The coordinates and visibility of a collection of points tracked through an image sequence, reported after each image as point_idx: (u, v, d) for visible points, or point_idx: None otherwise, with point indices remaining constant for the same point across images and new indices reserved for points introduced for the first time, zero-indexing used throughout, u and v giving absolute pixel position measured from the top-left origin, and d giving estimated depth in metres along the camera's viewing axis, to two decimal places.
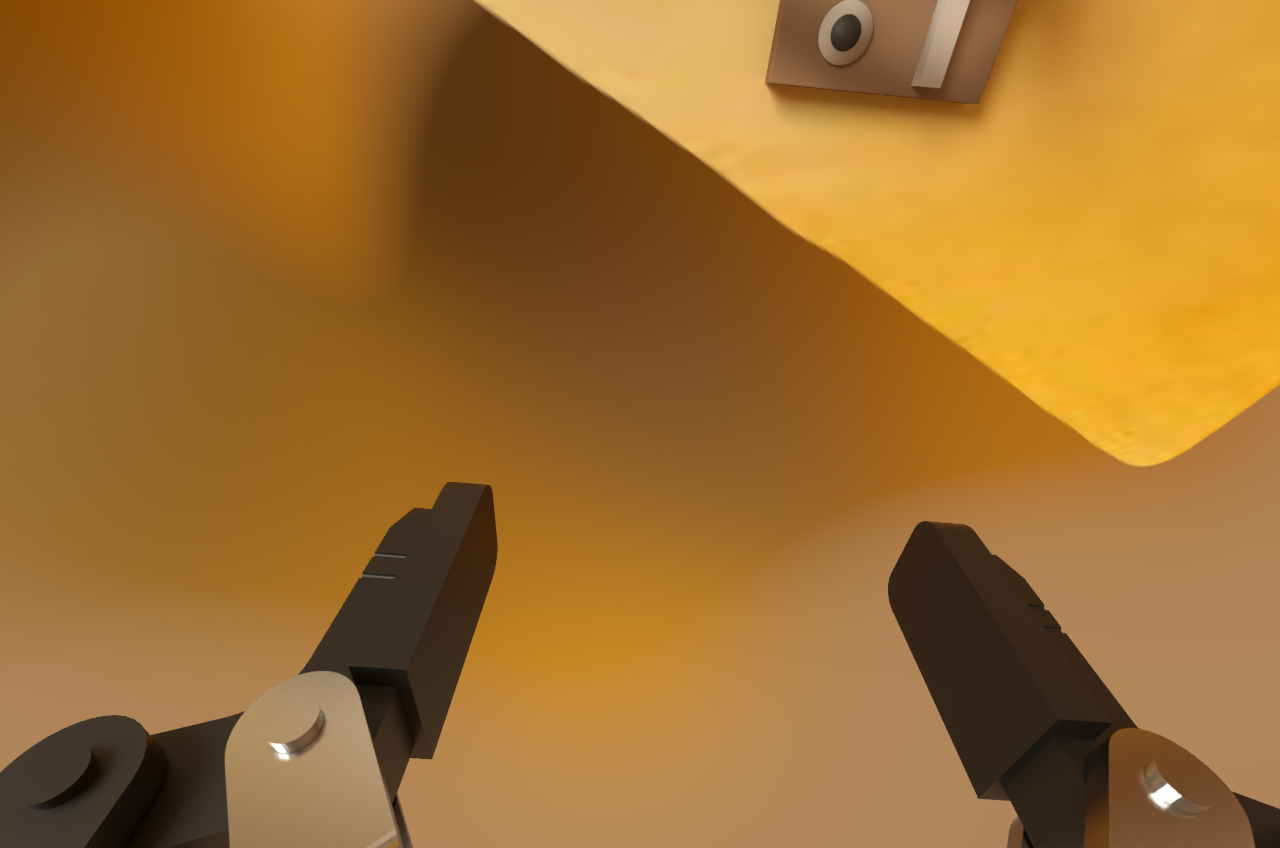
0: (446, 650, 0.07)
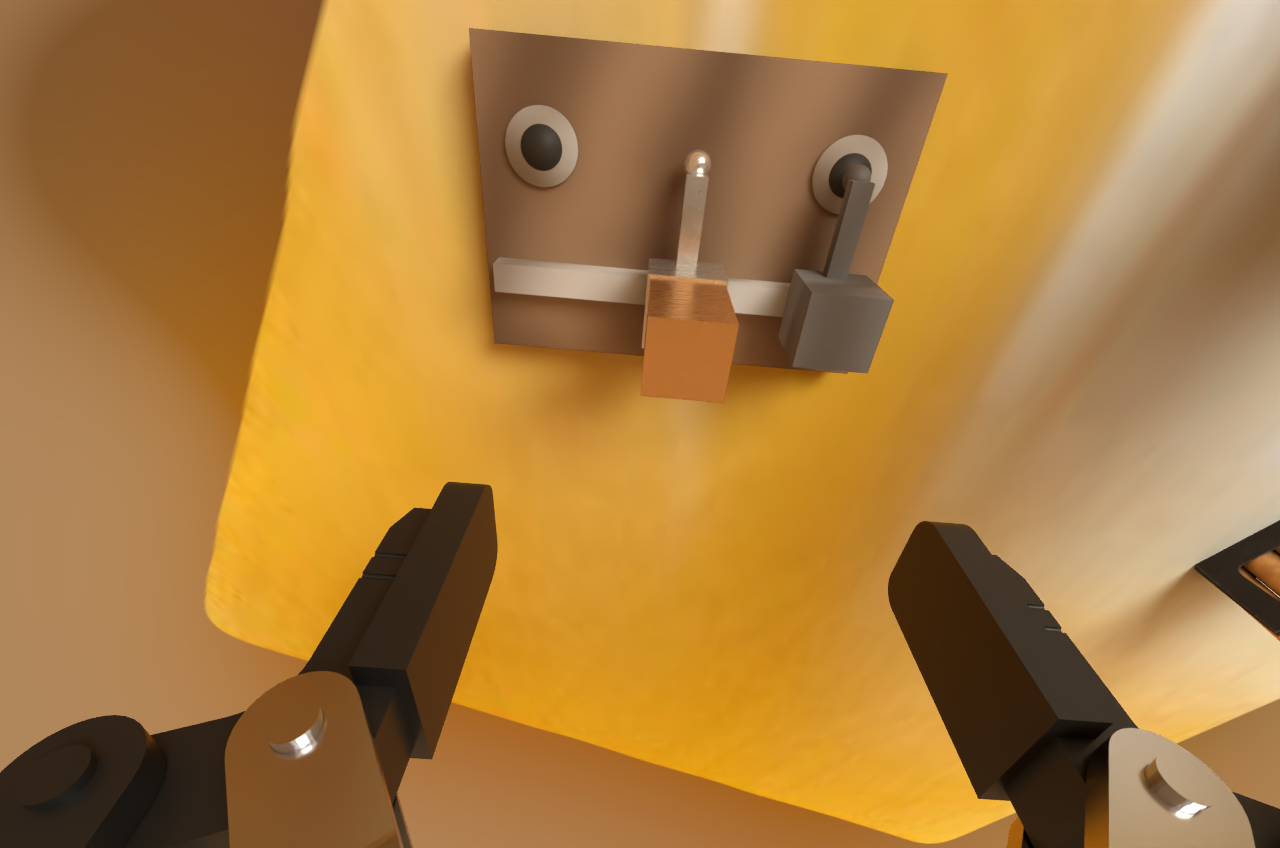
0: (446, 650, 0.07)
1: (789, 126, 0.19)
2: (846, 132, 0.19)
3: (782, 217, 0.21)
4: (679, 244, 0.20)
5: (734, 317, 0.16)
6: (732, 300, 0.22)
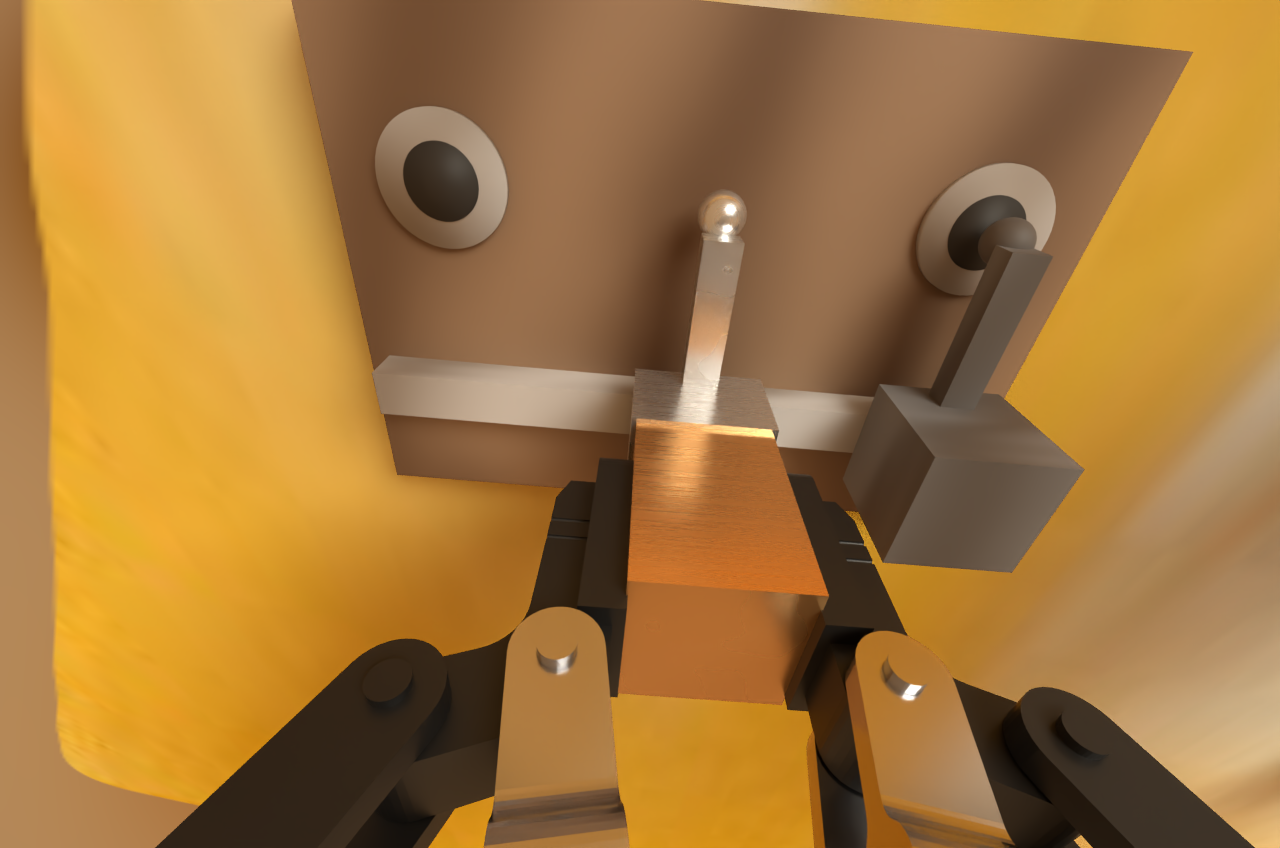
0: None
1: (886, 147, 0.11)
2: (988, 158, 0.11)
3: (860, 298, 0.12)
4: (688, 353, 0.11)
5: (813, 563, 0.08)
6: None
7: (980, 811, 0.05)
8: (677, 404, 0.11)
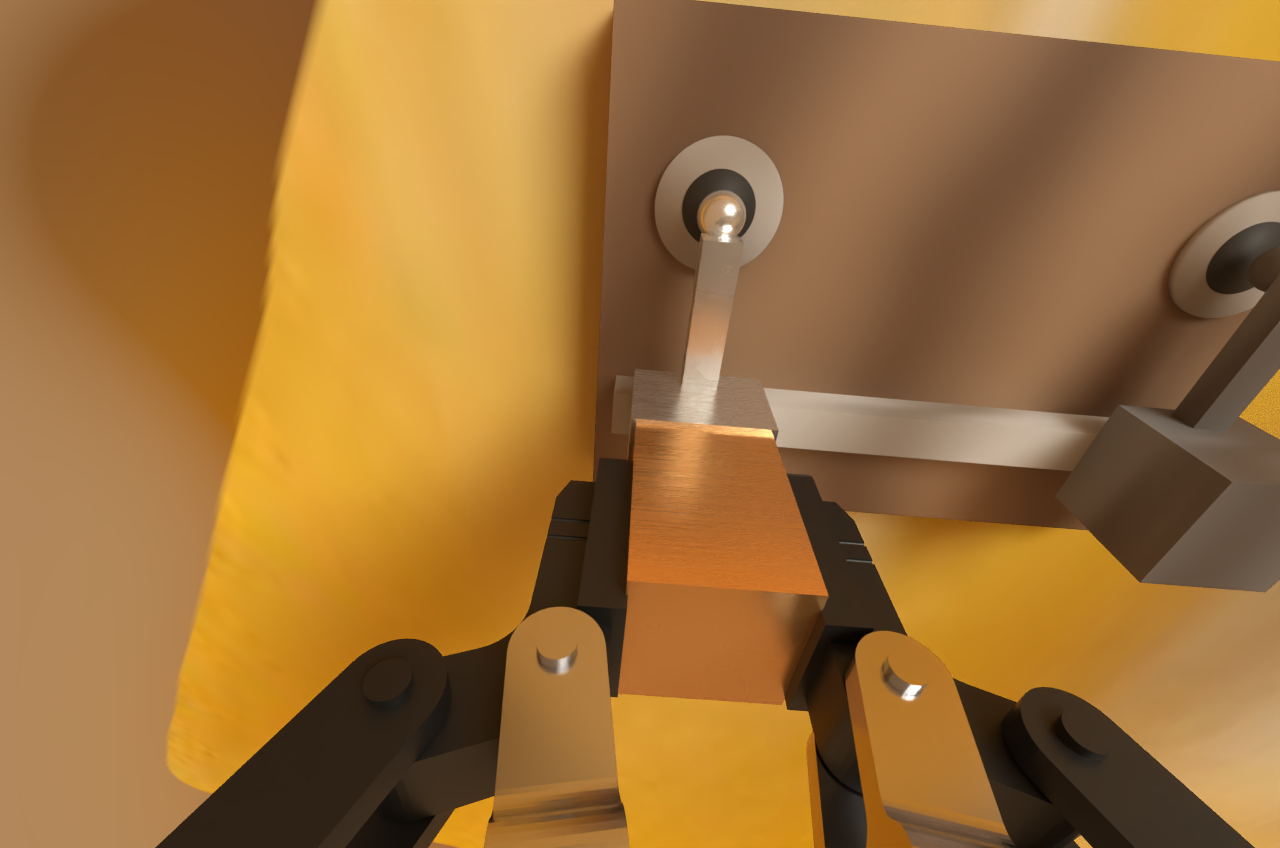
0: None
1: (1166, 175, 0.11)
2: (1266, 186, 0.11)
3: (1102, 320, 0.13)
4: (687, 353, 0.11)
5: (813, 563, 0.08)
6: (998, 448, 0.14)
7: (980, 811, 0.05)
8: (677, 404, 0.11)
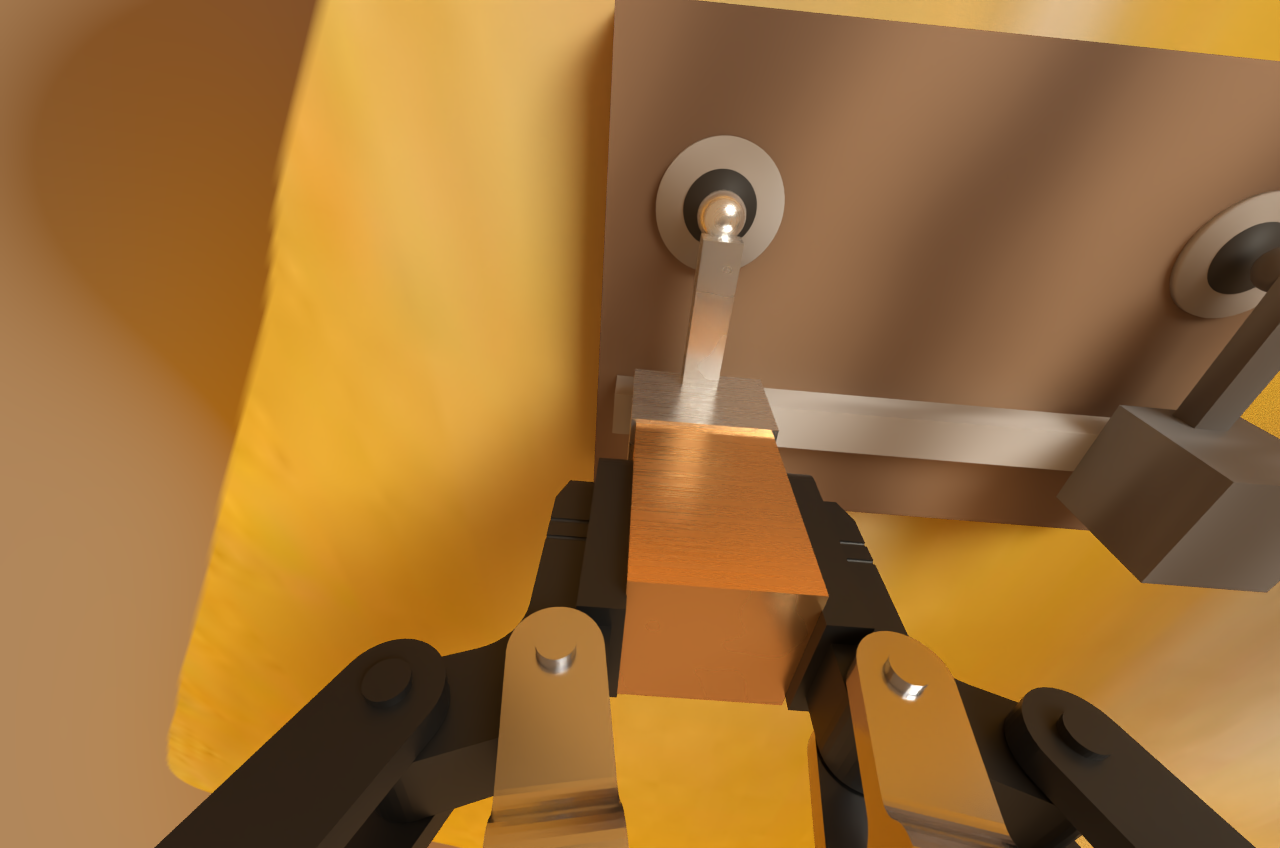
0: None
1: (1168, 175, 0.11)
2: (1268, 186, 0.11)
3: (1103, 320, 0.13)
4: (687, 353, 0.11)
5: (813, 564, 0.08)
6: (999, 448, 0.14)
7: (981, 811, 0.05)
8: (677, 404, 0.11)
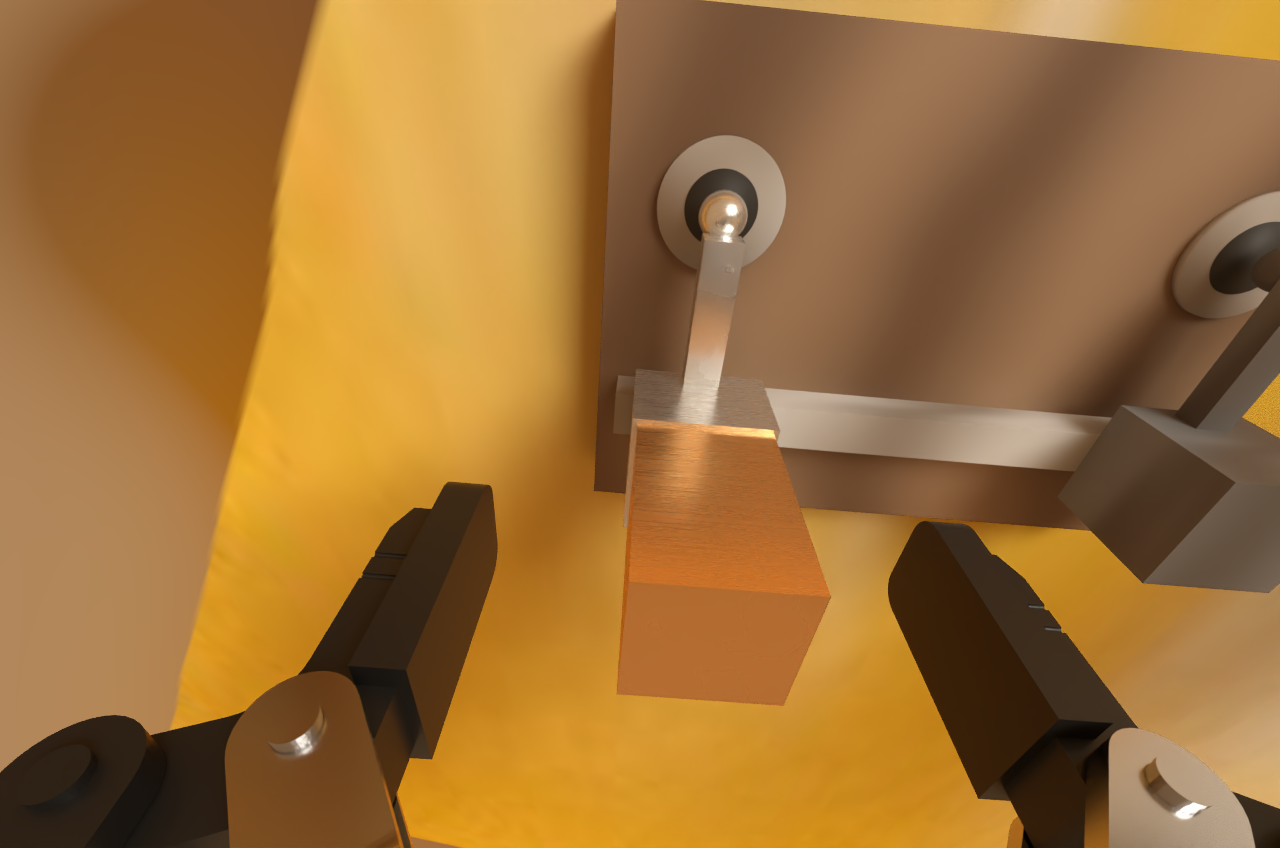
0: (446, 650, 0.07)
1: (1170, 175, 0.11)
2: (1270, 186, 0.11)
3: (1104, 320, 0.13)
4: (689, 353, 0.11)
5: (815, 564, 0.08)
6: (1001, 448, 0.14)
7: None
8: (678, 404, 0.11)
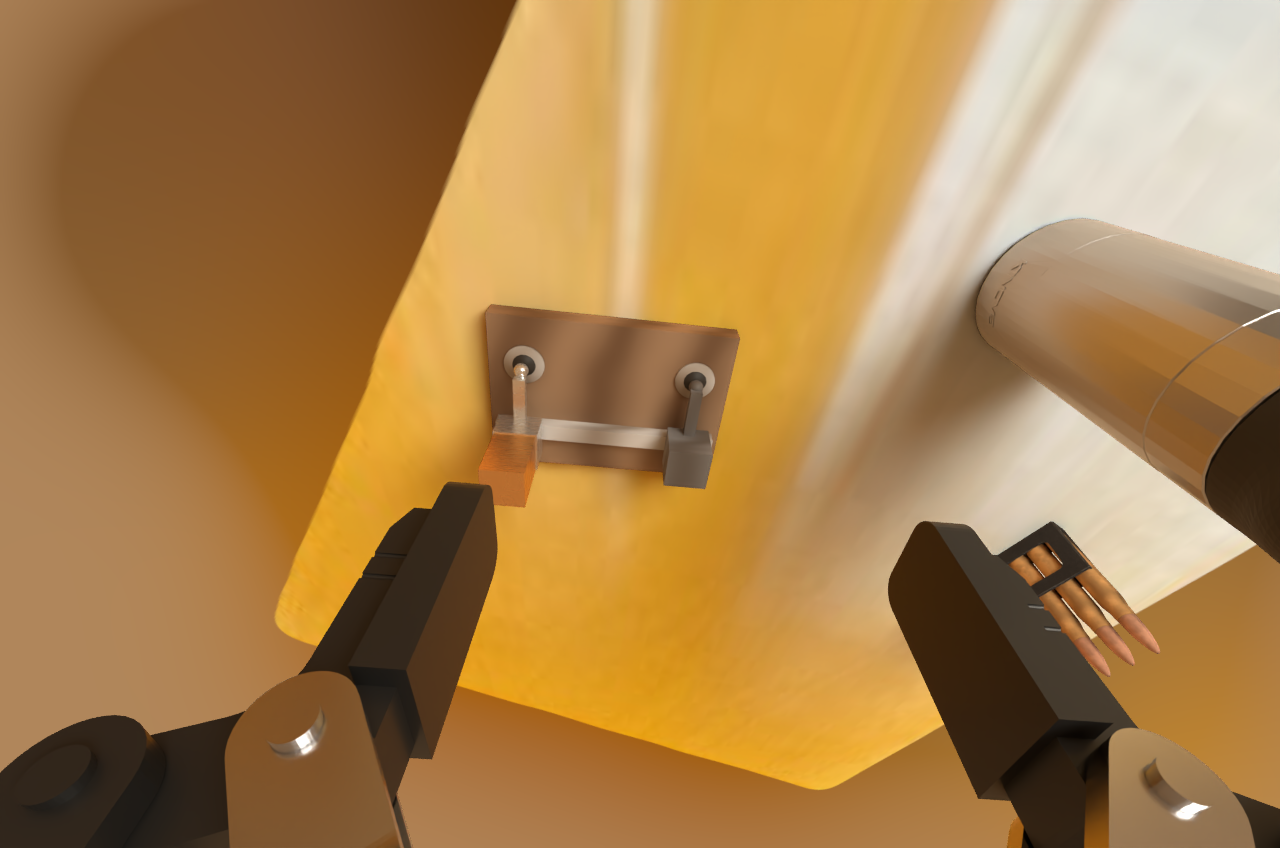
0: (446, 650, 0.07)
1: (660, 358, 0.35)
2: (690, 361, 0.36)
3: (660, 398, 0.37)
4: (514, 410, 0.36)
5: (524, 467, 0.32)
6: (634, 441, 0.38)
7: None
8: (508, 427, 0.35)
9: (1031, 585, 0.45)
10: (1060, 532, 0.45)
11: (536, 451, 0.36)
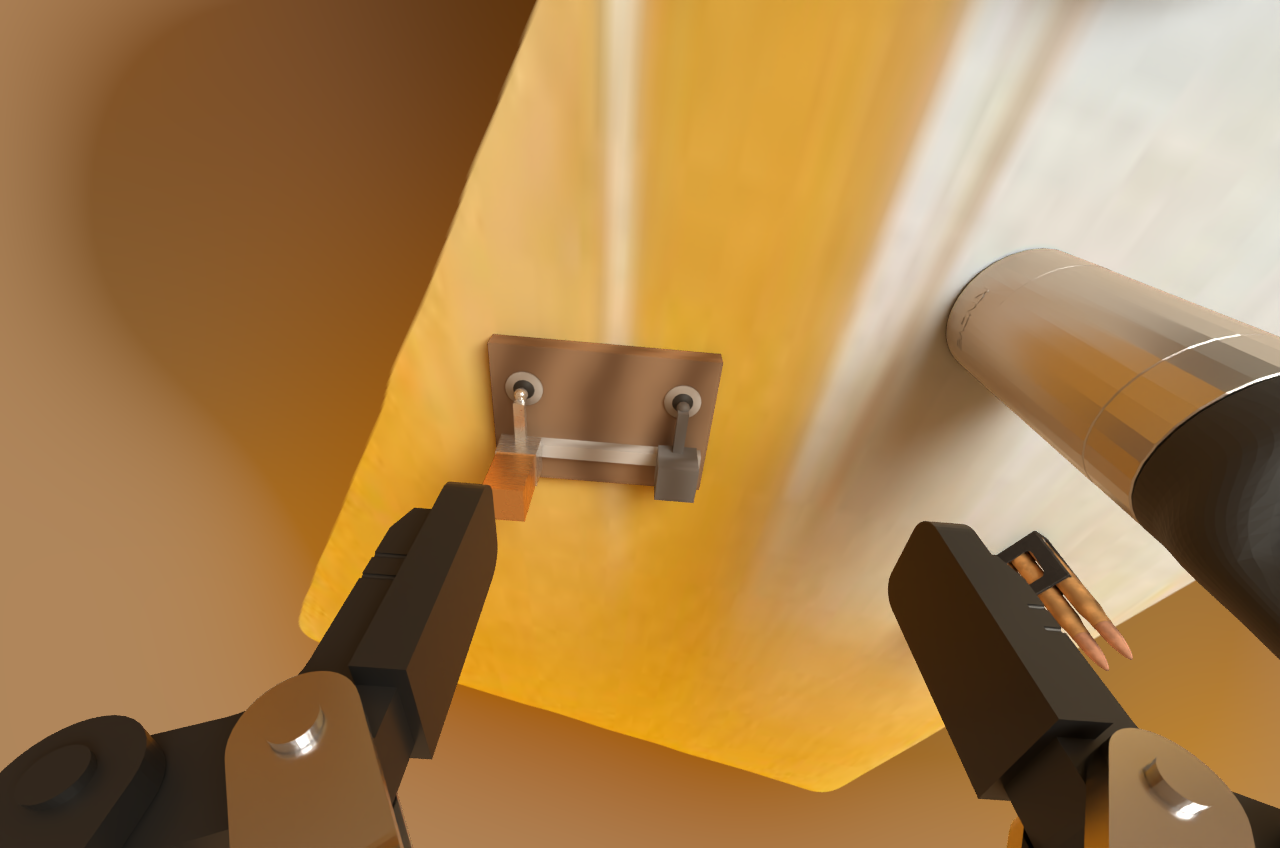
0: (446, 650, 0.07)
1: (649, 381, 0.38)
2: (678, 384, 0.38)
3: (651, 418, 0.40)
4: (515, 431, 0.39)
5: (523, 485, 0.35)
6: (627, 458, 0.41)
7: None
8: (510, 446, 0.38)
9: None
10: (1042, 541, 0.46)
11: (535, 469, 0.38)
